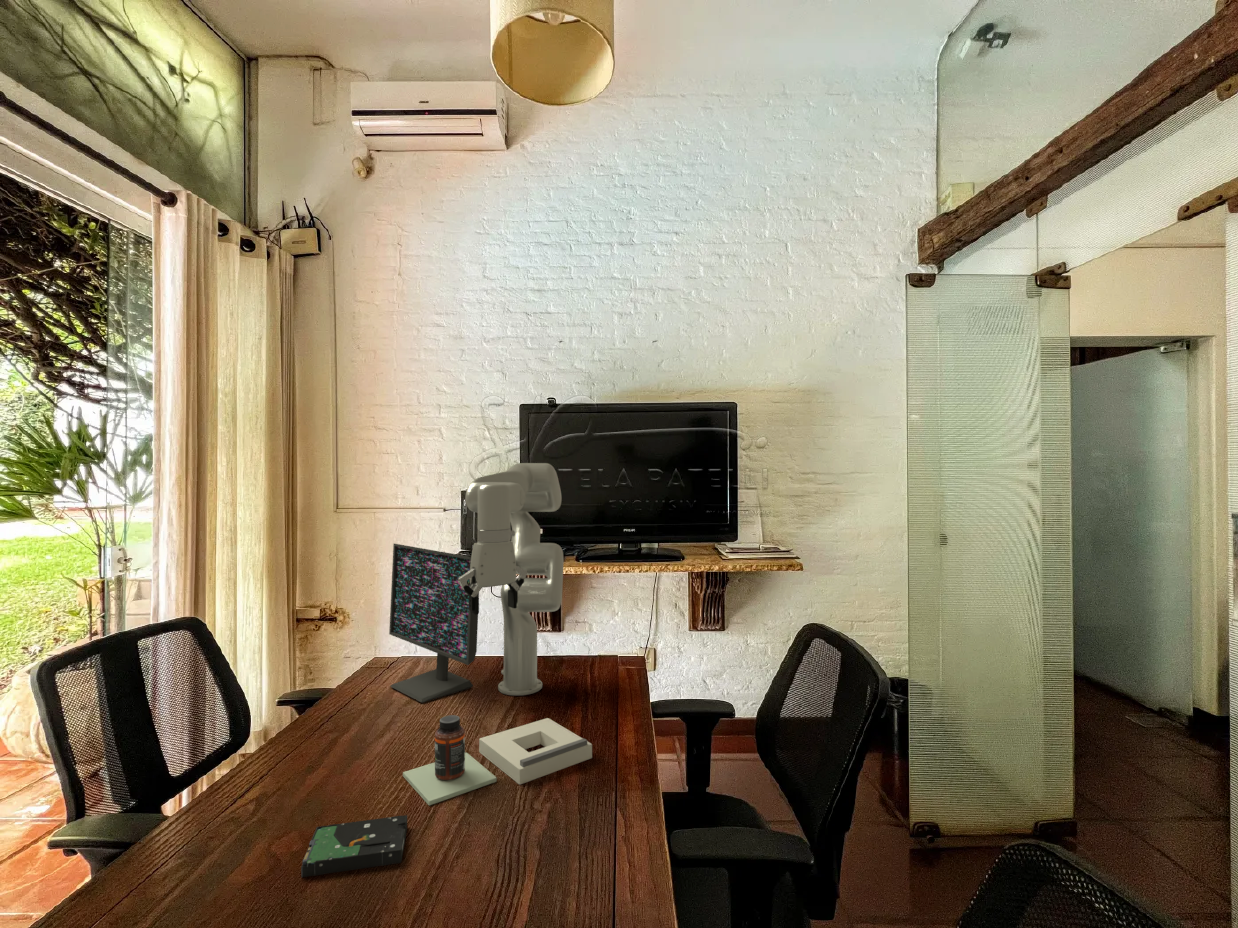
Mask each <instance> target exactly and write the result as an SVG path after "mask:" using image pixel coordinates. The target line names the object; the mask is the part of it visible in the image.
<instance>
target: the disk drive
mask: <svg viewBox="0 0 1238 928" xmlns="http://www.w3.org/2000/svg"><path fill="white" fill-rule="evenodd" d="M407 830H408V815H407V814H404V815H396V816H395V815H394V816H391V817H382V818H381V817H380V818H374V819H373V818H372V819H366V820H359V821H357V820H356V821H351V822H344V823H337V824H336V823H335V824H333V823H332V824H329V825H320V826H316V828H315V831H314V832H313V835H312V837H311V840H310V841H309V844H308V845H309V846H308V848H307V851H306V853H305V855H304V857H303V859H302V863H301V869H300V871H301V873H300V874H301V878H307V877H315V876H322V875H328V874H334V873H341V872H348V871H354V870H355V871H356V870H360V869H368V868H375V867H381V866H389V865H390V866H391V865H394V864H395V865H396V864H401V863H402V861H403V855H404V849H405V844H406V837H407Z"/></svg>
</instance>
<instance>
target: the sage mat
mask: <svg viewBox="0 0 1238 928" xmlns="http://www.w3.org/2000/svg"><path fill="white" fill-rule="evenodd" d="M402 777H403V778H404V779H405V780H406V781H407V783H409V785H410V786H411V787H412V788H413V789H414V790H415V792H416V793H417V794H418V795H419V796H420V797H421V798H422V800H423V801H424V802H425V803H426V804H427V805H428V806H432V805H435V804H438V803H441V802H443V801H446V800H448V799H452V798H455V797H457V796H460V795H463V794H466V793H468V792H472V791H474V790H476V789H479V788H482V787H485V786H488V785H490V784H494V783H496V782H498V781H497V780H498V779H497V776H496V775H494V774H493V773H492V772H491V771H489V769H487V768H486V767H485V766H484V765H482V764H481V763H480V762H479V761H478V760H476V759H475V758H474V757H473V756H471V754H470V753H468V752H466V751H465V771H464V773H463V774H462V775H461V776H460V777H458V778H456V779H453V780H440V779H438V778H437V777H436V776H435V761H434V762H431V763H429V764H425V765H422V766H419V767H415V768H413V769H410V770H406V771H403V772H402Z"/></svg>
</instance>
